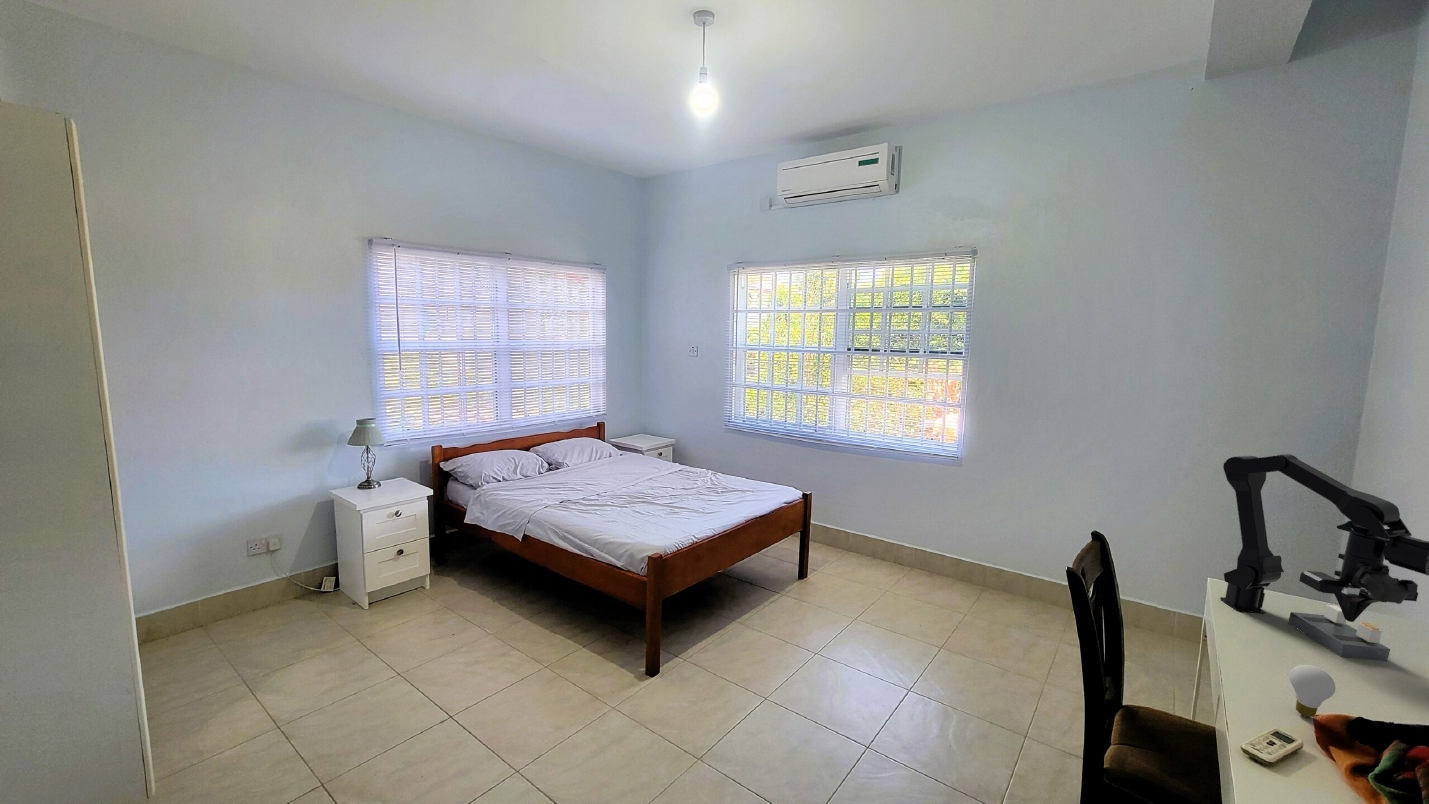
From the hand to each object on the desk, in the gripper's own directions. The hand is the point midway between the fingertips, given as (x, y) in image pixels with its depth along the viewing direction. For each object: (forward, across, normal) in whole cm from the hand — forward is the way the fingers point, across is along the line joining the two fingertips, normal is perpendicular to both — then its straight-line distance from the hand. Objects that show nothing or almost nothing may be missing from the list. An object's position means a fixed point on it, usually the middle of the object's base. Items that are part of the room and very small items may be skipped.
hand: (1349, 620), depth 129 cm
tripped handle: (+4, +4, 0) cm, 6 cm away
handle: (+4, +4, +8) cm, 10 cm away
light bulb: (+8, -28, -27) cm, 40 cm away
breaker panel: (+7, +2, +4) cm, 9 cm away
